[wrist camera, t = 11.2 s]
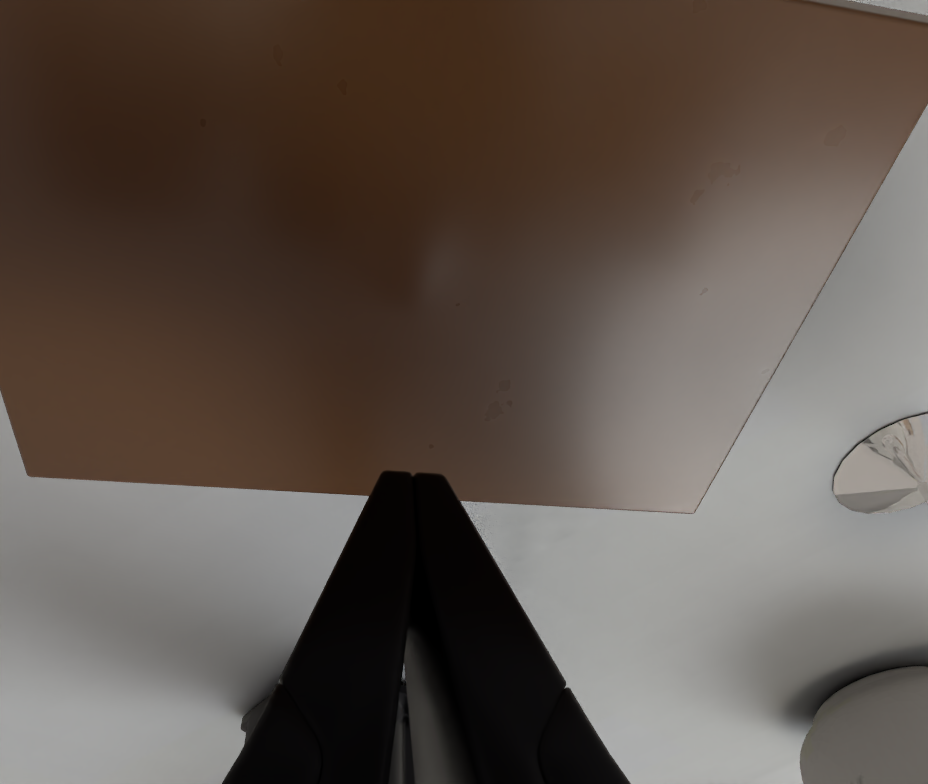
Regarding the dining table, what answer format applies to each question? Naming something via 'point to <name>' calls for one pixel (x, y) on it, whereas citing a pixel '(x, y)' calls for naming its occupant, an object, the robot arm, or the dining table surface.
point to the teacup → (871, 732)
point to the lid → (427, 233)
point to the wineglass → (886, 469)
